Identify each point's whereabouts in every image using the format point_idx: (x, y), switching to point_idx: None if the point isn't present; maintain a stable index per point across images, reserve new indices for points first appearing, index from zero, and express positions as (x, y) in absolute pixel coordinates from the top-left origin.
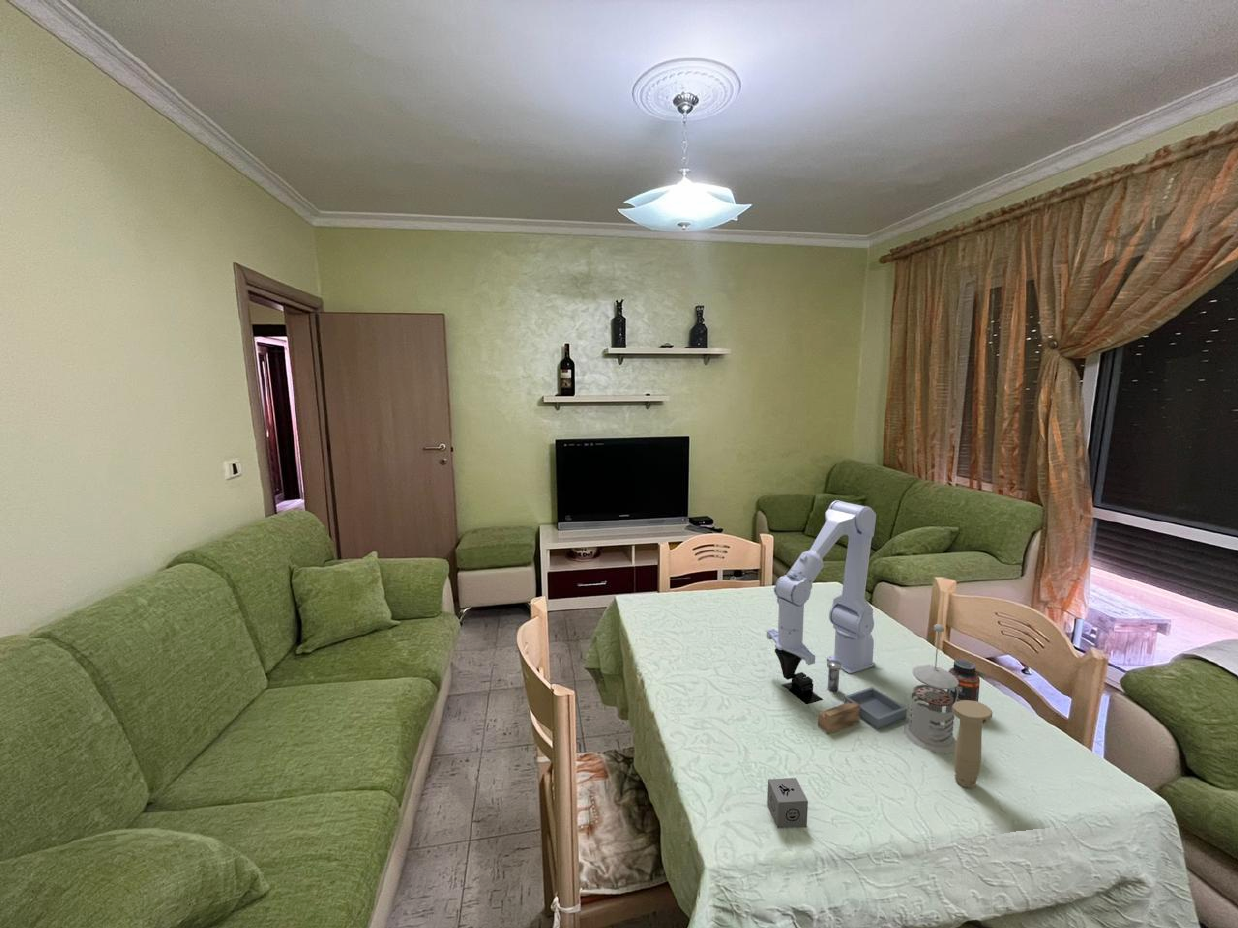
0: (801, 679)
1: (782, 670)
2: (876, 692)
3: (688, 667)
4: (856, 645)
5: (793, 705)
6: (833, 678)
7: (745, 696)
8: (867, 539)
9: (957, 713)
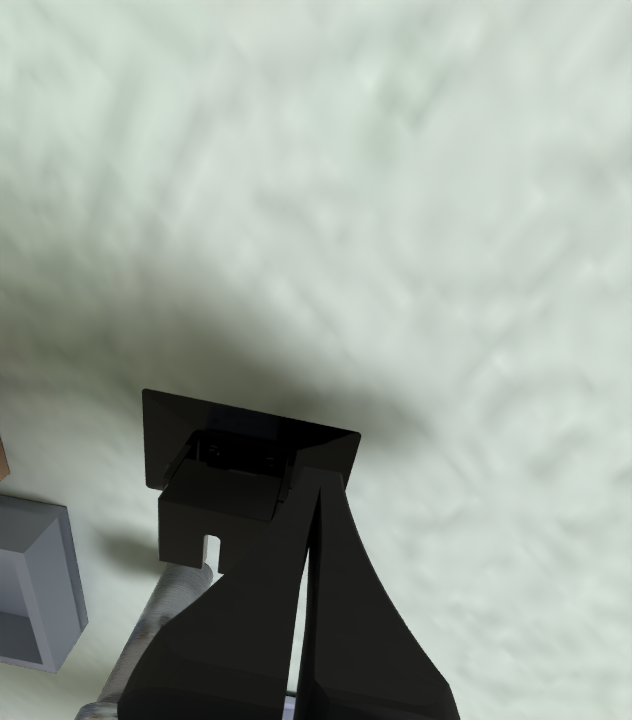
0: (191, 514)
1: (342, 506)
2: (28, 653)
3: None
4: None
5: (166, 323)
6: (134, 634)
7: (433, 88)
8: None
9: None
